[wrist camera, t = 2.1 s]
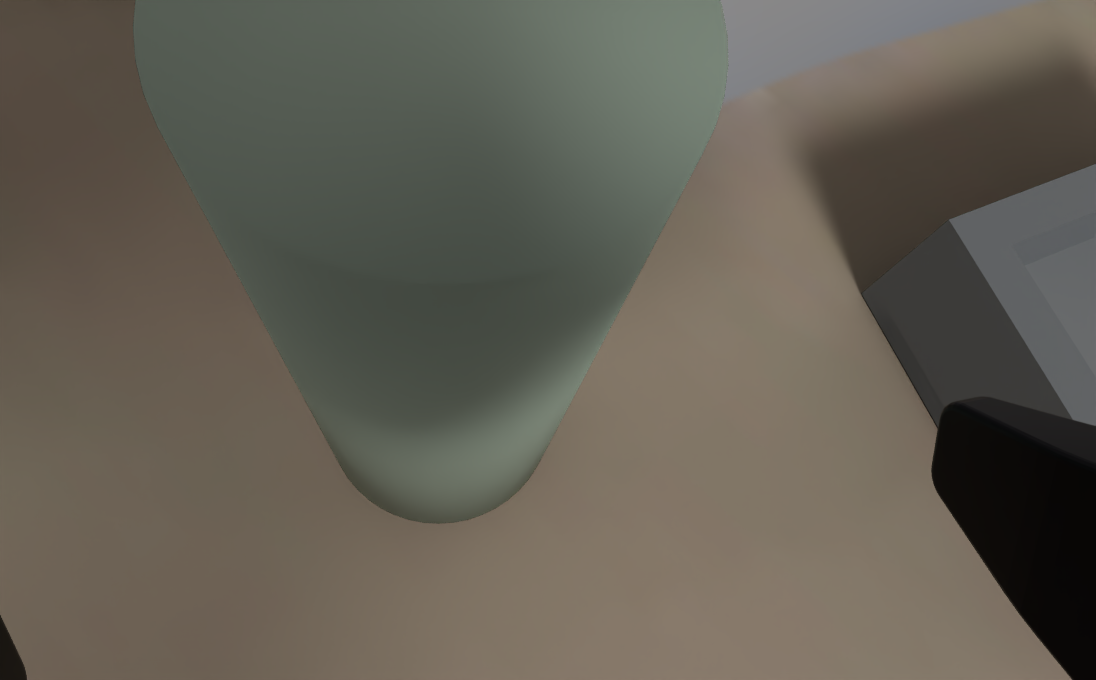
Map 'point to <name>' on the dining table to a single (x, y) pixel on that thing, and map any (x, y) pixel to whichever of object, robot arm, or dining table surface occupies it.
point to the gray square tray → (1002, 303)
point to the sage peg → (435, 204)
